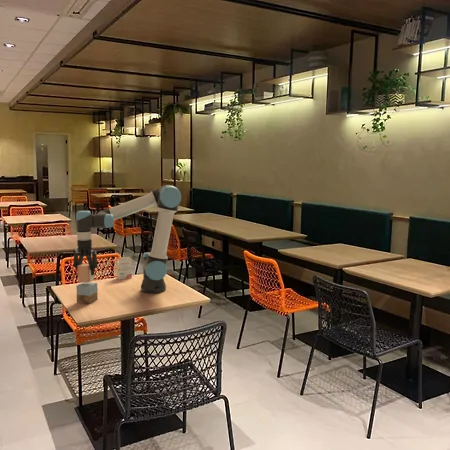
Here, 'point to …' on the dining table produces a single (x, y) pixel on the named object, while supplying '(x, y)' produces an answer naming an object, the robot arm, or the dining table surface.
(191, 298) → the dining table surface
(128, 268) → the ink cartridge box
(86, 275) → the terracotta block
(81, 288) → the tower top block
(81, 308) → the dining table surface
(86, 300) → the tower base block
